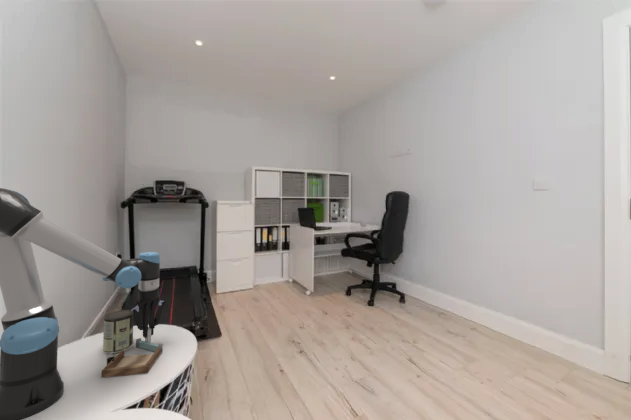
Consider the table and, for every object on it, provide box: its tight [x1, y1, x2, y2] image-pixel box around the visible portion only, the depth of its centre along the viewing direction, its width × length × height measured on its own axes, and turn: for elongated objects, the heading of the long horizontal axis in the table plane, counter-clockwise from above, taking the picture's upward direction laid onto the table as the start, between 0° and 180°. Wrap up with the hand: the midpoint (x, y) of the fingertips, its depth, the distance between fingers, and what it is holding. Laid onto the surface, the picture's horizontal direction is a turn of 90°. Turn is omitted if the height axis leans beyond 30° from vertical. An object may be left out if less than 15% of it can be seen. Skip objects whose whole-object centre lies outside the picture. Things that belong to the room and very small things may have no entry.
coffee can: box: [102, 309, 135, 355], centre depth 110 cm, size 10×10×14 cm
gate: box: [135, 337, 164, 354], centre depth 109 cm, size 14×2×3 cm, turn 71°
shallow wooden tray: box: [100, 348, 162, 379], centre depth 98 cm, size 14×13×2 cm
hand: (147, 343), depth 111 cm, fingers closed
